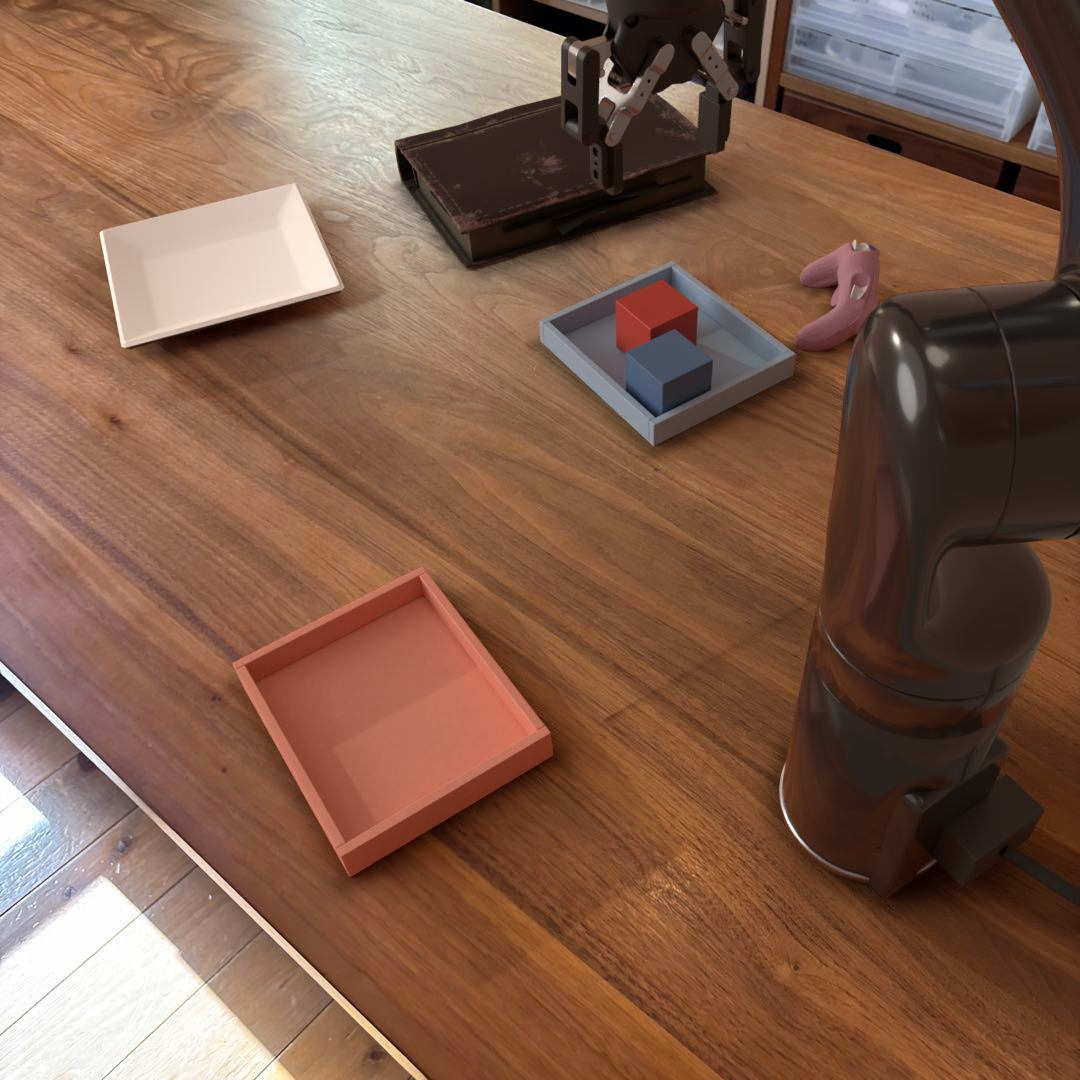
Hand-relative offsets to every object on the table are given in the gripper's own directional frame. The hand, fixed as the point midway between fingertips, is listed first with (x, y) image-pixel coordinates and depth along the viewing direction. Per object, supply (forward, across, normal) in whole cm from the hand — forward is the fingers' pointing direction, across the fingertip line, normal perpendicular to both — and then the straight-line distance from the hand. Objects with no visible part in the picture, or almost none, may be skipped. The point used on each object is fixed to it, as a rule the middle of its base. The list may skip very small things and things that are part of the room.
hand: (661, 168), depth 76 cm
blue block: (+16, -3, -6) cm, 17 cm away
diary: (+16, +7, +25) cm, 31 cm away
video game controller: (+16, +14, -5) cm, 22 cm away
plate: (+16, -24, +32) cm, 43 cm away
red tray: (+16, -33, -18) cm, 41 cm away
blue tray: (+16, 0, -1) cm, 16 cm away
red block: (+16, 0, 0) cm, 16 cm away
